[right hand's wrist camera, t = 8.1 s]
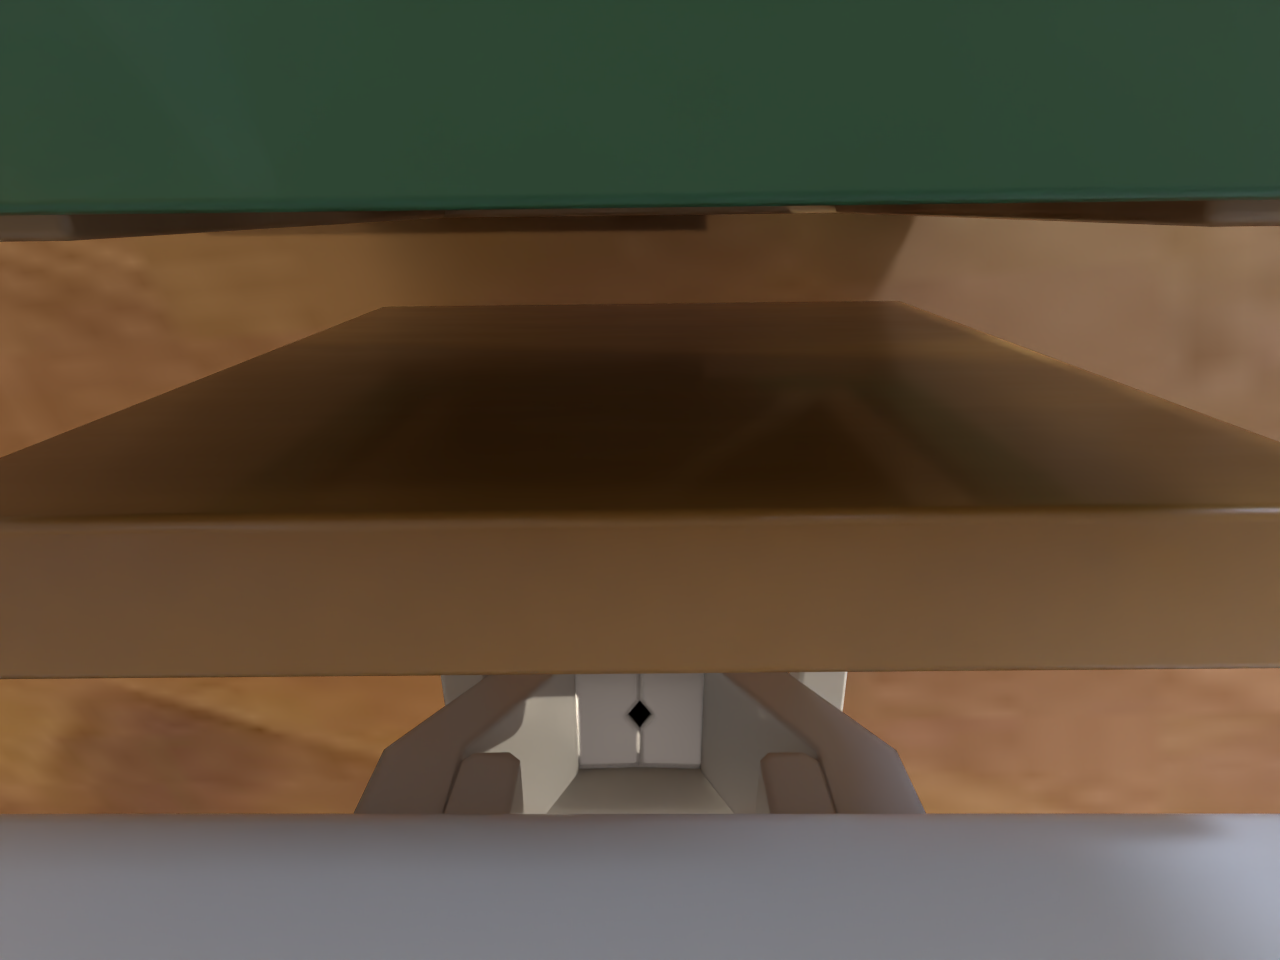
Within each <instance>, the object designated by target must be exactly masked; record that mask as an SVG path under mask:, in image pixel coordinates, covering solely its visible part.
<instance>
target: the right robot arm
mask: <svg viewBox="0 0 1280 960" xmlns="http://www.w3.org/2000/svg"><path fill="white" fill-rule="evenodd" d="M628 767H650V768H686V769H701V772H702V774H703V775H704V776H705V778H706V779H707V780H708V781H709V783H710V784H711V785H712V786H713V788H714V789H715V790H716V792H717V793H718V794H719V795H720V797H721V798H722V799H723V800H724V802H725V803H726V804H727V806H728V807H729V808H730V809H731V811H732V812H733V813H734V814H546V813H547V812H548V811H549V809H550V808H551V807H552V806H553V804H554V803H555V802H556V801H557V799H558V798H559V797H560V795H561V794H562V793H563V792H564V790H565V789H566V788H567V787H568V785H569V784H570V783H571V782H572V780H573V779H574V778H575V777H576V775H577V774H578V773H579V769H593V768H628ZM0 960H1280V814H926V813H925V810H924V808H923V806H922V804H921V802H920V800H919V798H918V796H917V793H916V791H915V789H914V787H913V785H912V783H911V781H910V779H909V776H908V774H907V772H906V770H905V768H904V766H903V764H902V762H901V759H900V757H899V755H898V753H897V751H896V750H895V749H893V748H892V747H891V746H889V745H888V744H886V743H885V742H884V741H882V740H881V739H879V738H878V737H877V736H875V735H874V734H872V733H871V732H870V731H868V730H867V729H865V728H864V727H863V726H861V725H860V724H859V723H857V722H856V721H854V720H853V719H852V718H850V717H849V716H847V715H846V714H845V713H843V712H842V711H840V710H839V709H838V708H836V707H835V706H833V705H832V704H831V703H829V702H828V701H826V700H825V699H824V698H822V697H821V696H819V695H818V694H817V693H815V692H814V691H813V690H811V689H810V688H808V687H807V686H806V685H804V684H803V683H801V682H800V681H799V680H797V679H796V678H794V677H793V676H792V675H790V674H789V673H787V672H761V673H644V674H527V675H488V676H487V677H485V678H484V679H482V680H481V681H480V682H478V683H477V684H475V685H474V686H473V687H471V688H470V689H468V690H467V691H466V692H464V693H463V694H461V695H460V696H459V697H457V698H456V699H454V700H453V701H452V702H450V703H449V704H447V705H446V706H445V707H443V708H442V709H440V710H439V711H438V712H436V713H435V714H433V715H432V716H430V717H429V718H428V719H426V720H425V721H423V722H422V723H421V724H419V725H418V726H416V727H415V728H414V729H412V730H411V731H409V732H408V733H407V734H405V735H404V736H402V737H401V738H400V739H398V740H397V741H395V742H394V743H393V744H391V745H390V746H388V747H387V748H386V749H384V751H383V753H382V755H381V757H380V759H379V761H378V763H377V765H376V768H375V770H374V772H373V774H372V776H371V778H370V780H369V782H368V784H367V786H366V789H365V791H364V793H363V795H362V797H361V799H360V801H359V803H358V805H357V807H356V809H355V812H354V814H0Z"/></svg>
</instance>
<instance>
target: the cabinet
mask: <svg viewBox="0 0 1280 960" xmlns="http://www.w3.org/2000/svg"><path fill="white" fill-rule="evenodd" d="M1217 200H1280V0H0V216H12V215H92V214H173V213H253V212H333V211H414V210H494V209H574V208H655V207H735V206H815V205H896V204H976V203H1056V202H1136V201H1217Z"/></svg>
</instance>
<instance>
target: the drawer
mask: <svg viewBox="0 0 1280 960" xmlns="http://www.w3.org/2000/svg"><path fill="white" fill-rule="evenodd" d="M779 213H857V214H884V215H911V216H938V217H965V218H991V219H1018V220H1045V221H1072V222H1099V223H1126V224H1153V225H1180V226H1207V227H1220V226H1280V200H1217V201H1136V202H1056V203H976V204H896V205H815V206H735V207H655V208H574V209H494V210H414V211H333V212H253V213H173V214H92V215H12V216H0V242H5V241H72V240H89V239H105V238H121V237H137V236H154V235H170V234H186V233H202V232H219V231H235V230H251V229H267V228H284V227H300V226H316V225H332V224H349V223H365V222H381V221H397V220H414V219H430V218H456V217H537V216H618V215H698V214H779ZM1229 668H1280V442H1278V441H1275V440H1272V439H1269V438H1267V437H1264V436H1261V435H1259V434H1256V433H1253V432H1251V431H1248V430H1245V429H1243V428H1240V427H1237V426H1234V425H1232V424H1229V423H1226V422H1224V421H1221V420H1218V419H1216V418H1213V417H1210V416H1207V415H1205V414H1202V413H1199V412H1197V411H1194V410H1191V409H1189V408H1186V407H1183V406H1180V405H1178V404H1175V403H1172V402H1170V401H1167V400H1164V399H1162V398H1159V397H1156V396H1154V395H1151V394H1148V393H1145V392H1143V391H1140V390H1137V389H1135V388H1132V387H1129V386H1127V385H1124V384H1121V383H1118V382H1116V381H1113V380H1110V379H1108V378H1105V377H1102V376H1100V375H1097V374H1094V373H1091V372H1089V371H1086V370H1083V369H1081V368H1078V367H1075V366H1073V365H1070V364H1067V363H1065V362H1062V361H1059V360H1056V359H1054V358H1051V357H1048V356H1046V355H1043V354H1040V353H1038V352H1035V351H1032V350H1029V349H1027V348H1024V347H1021V346H1019V345H1016V344H1013V343H1011V342H1008V341H1005V340H1003V339H1000V338H997V337H994V336H992V335H989V334H986V333H984V332H981V331H978V330H976V329H973V328H970V327H967V326H965V325H962V324H959V323H957V322H954V321H951V320H949V319H946V318H943V317H940V316H938V315H935V314H932V313H930V312H927V311H924V310H922V309H919V308H916V307H914V306H911V305H908V304H905V303H903V302H900V301H862V302H777V303H691V304H605V305H519V306H433V307H382V308H380V309H377V310H375V311H372V312H370V313H367V314H365V315H362V316H359V317H357V318H354V319H352V320H349V321H347V322H344V323H342V324H339V325H337V326H334V327H332V328H329V329H326V330H324V331H321V332H319V333H316V334H314V335H311V336H309V337H306V338H304V339H301V340H299V341H296V342H294V343H291V344H288V345H286V346H283V347H281V348H278V349H276V350H273V351H271V352H268V353H266V354H263V355H261V356H258V357H255V358H253V359H250V360H248V361H245V362H243V363H240V364H238V365H235V366H233V367H230V368H228V369H225V370H222V371H220V372H217V373H215V374H212V375H210V376H207V377H205V378H202V379H200V380H197V381H195V382H192V383H189V384H187V385H184V386H182V387H179V388H177V389H174V390H172V391H169V392H167V393H164V394H162V395H159V396H157V397H154V398H151V399H149V400H146V401H144V402H141V403H139V404H136V405H134V406H131V407H129V408H126V409H124V410H121V411H118V412H116V413H113V414H111V415H108V416H106V417H103V418H101V419H98V420H96V421H93V422H91V423H88V424H85V425H83V426H80V427H78V428H75V429H73V430H70V431H68V432H65V433H63V434H60V435H58V436H55V437H52V438H50V439H47V440H45V441H42V442H40V443H37V444H35V445H32V446H30V447H27V448H25V449H22V450H20V451H17V452H14V453H12V454H9V455H7V456H4V457H2V458H0V679H59V678H176V677H293V676H410V675H441V681H442V687H443V694H444V701H445V706H446V705H447V704H449V703H450V702H452V701H453V700H454V699H456V698H457V697H459V696H460V695H461V694H463V693H464V692H466V691H467V690H468V689H470V688H471V687H473V686H474V685H475V684H477V683H478V682H480V681H481V680H482V679H484V678H485V677H487V676H488V675H527V674H644V673H761V672H790V675H792V676H793V677H794V678H796V679H797V680H799V681H800V682H801V683H803V684H804V685H806V686H807V687H808V688H810V689H811V690H813V691H814V692H815V693H817V694H818V695H819V696H821V697H822V698H824V699H825V700H826V701H828V702H829V703H831V704H832V705H833V706H835V707H836V708H838V709H839V710H840V711H842V712H843V703H844V695H845V687H846V679H847V672H878V671H995V670H1112V669H1229ZM546 814H734V813H733V812H732V811H731V809H730V808H729V807H728V806H727V804H726V803H725V802H724V800H723V799H722V798H721V797H720V795H719V794H718V793H717V792H716V790H715V789H714V788H713V786H712V785H711V784H710V783H709V781H708V780H707V779H706V778H705V776H704V775H703V774H702V772H701V769H686V768H650V767H628V768H593V769H579V773H578V774H577V775H576V777H575V778H574V779H573V780H572V782H571V783H570V784H569V785H568V787H567V788H566V789H565V790H564V792H563V793H562V794H561V795H560V797H559V798H558V799H557V801H556V802H555V803H554V804H553V806H552V807H551V808H550V809H549V811H548V812H547V813H546Z"/></svg>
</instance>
